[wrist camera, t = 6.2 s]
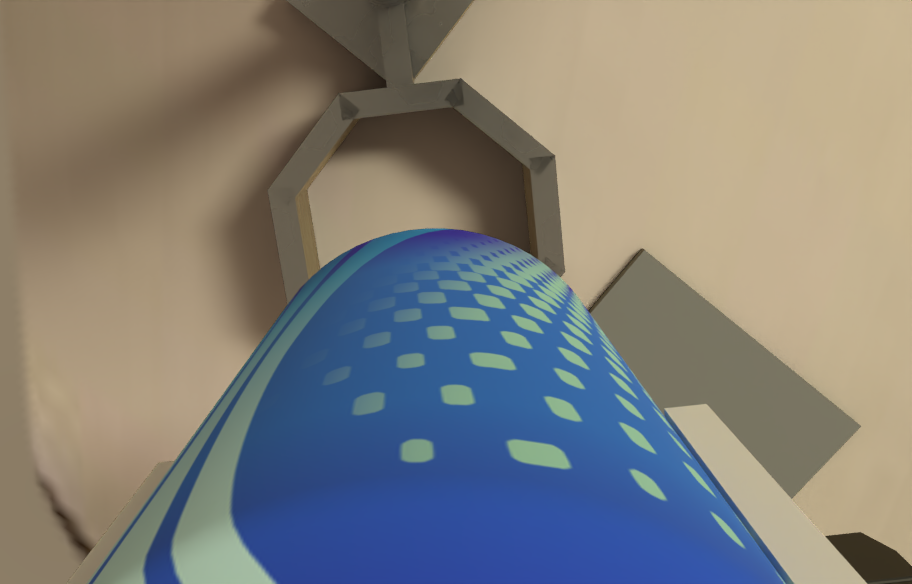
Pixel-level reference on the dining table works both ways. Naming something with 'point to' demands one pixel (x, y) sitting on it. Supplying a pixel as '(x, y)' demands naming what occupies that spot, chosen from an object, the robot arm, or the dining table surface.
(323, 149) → the ring stand
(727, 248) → the dining table surface
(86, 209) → the dining table surface
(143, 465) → the dining table surface
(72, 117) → the dining table surface
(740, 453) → the robot arm
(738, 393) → the rubber mat
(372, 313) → the beer can
